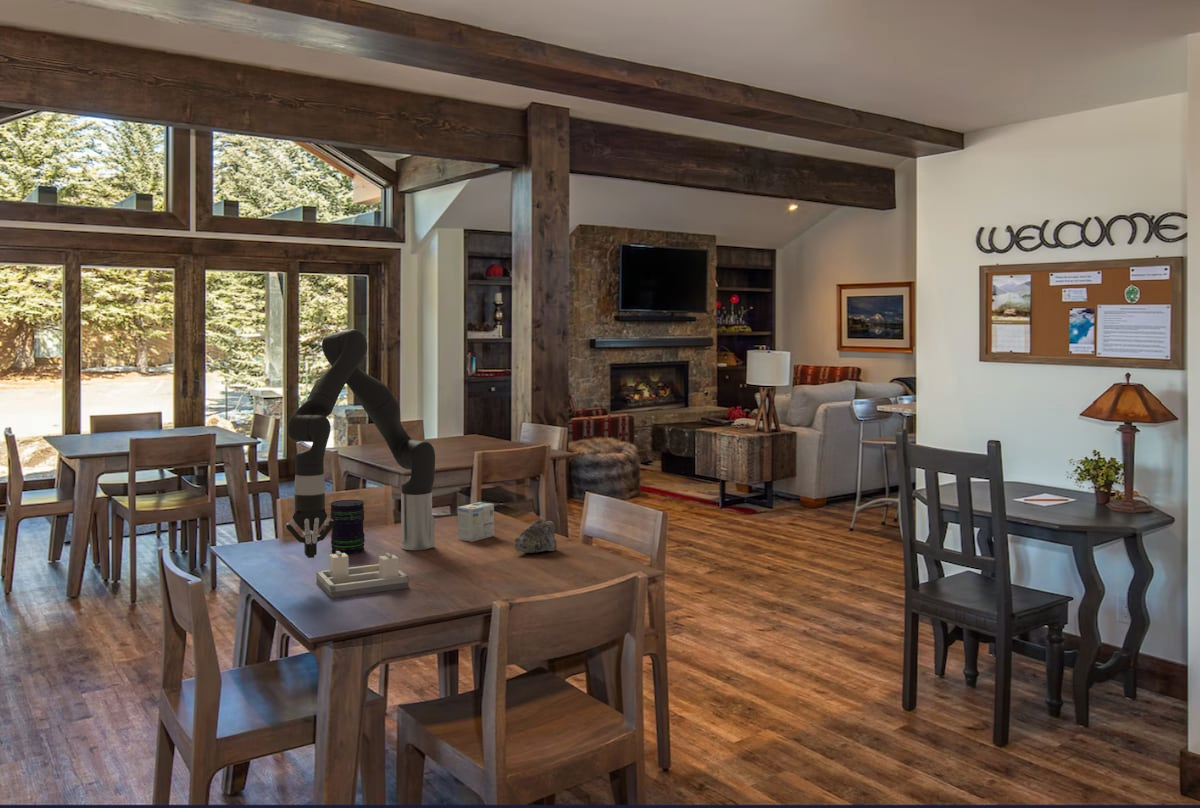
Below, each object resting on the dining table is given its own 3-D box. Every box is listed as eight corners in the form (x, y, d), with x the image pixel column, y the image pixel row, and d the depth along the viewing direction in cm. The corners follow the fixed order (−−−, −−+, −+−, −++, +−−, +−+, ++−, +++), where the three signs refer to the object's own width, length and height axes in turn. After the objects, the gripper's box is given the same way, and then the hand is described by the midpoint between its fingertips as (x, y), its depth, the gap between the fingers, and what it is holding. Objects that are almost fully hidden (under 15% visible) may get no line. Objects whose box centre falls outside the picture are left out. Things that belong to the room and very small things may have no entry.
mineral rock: (514, 556, 276) (514, 523, 275) (514, 548, 287) (514, 516, 286) (557, 555, 277) (557, 522, 276) (555, 547, 288) (556, 515, 287)
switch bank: (390, 573, 256) (390, 562, 256) (408, 587, 242) (408, 576, 242) (316, 582, 246) (316, 571, 246) (330, 598, 233) (330, 586, 232)
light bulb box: (479, 533, 306) (479, 501, 305) (495, 536, 302) (494, 503, 301) (456, 539, 298) (456, 506, 297) (472, 542, 294) (472, 508, 293)
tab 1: (344, 574, 248) (344, 549, 247) (348, 578, 245) (348, 553, 244) (329, 576, 246) (329, 551, 246) (333, 580, 243) (332, 554, 242)
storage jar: (324, 553, 278) (323, 504, 277) (344, 546, 287) (344, 498, 286) (351, 556, 274) (350, 506, 273) (371, 549, 283) (370, 501, 282)
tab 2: (394, 576, 246) (393, 551, 246) (398, 580, 243) (398, 554, 242) (379, 578, 244) (378, 553, 244) (383, 582, 241) (383, 556, 240)
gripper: (332, 487, 246) (332, 551, 248) (280, 491, 240) (281, 556, 241) (339, 491, 240) (339, 557, 241) (286, 495, 234) (286, 563, 235)
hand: (310, 557), depth 241 cm, fingers closed
